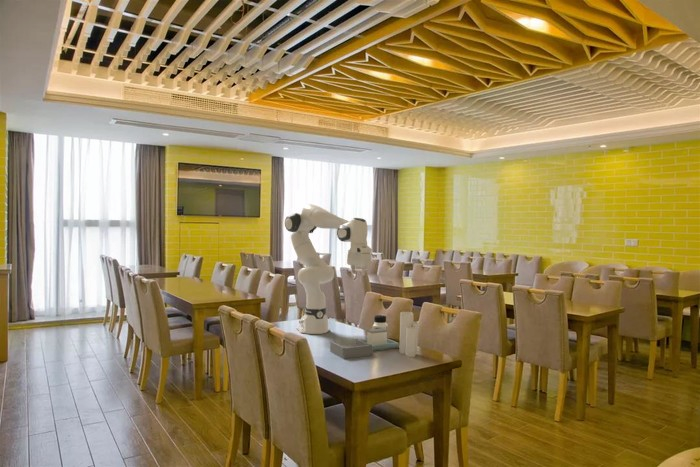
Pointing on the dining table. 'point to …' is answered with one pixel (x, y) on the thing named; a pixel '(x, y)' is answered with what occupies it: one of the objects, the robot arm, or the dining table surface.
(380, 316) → the container
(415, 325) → the candle
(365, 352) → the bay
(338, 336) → the dining table surface
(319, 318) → the robot arm
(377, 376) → the dining table surface
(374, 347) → the tray
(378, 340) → the caddy
